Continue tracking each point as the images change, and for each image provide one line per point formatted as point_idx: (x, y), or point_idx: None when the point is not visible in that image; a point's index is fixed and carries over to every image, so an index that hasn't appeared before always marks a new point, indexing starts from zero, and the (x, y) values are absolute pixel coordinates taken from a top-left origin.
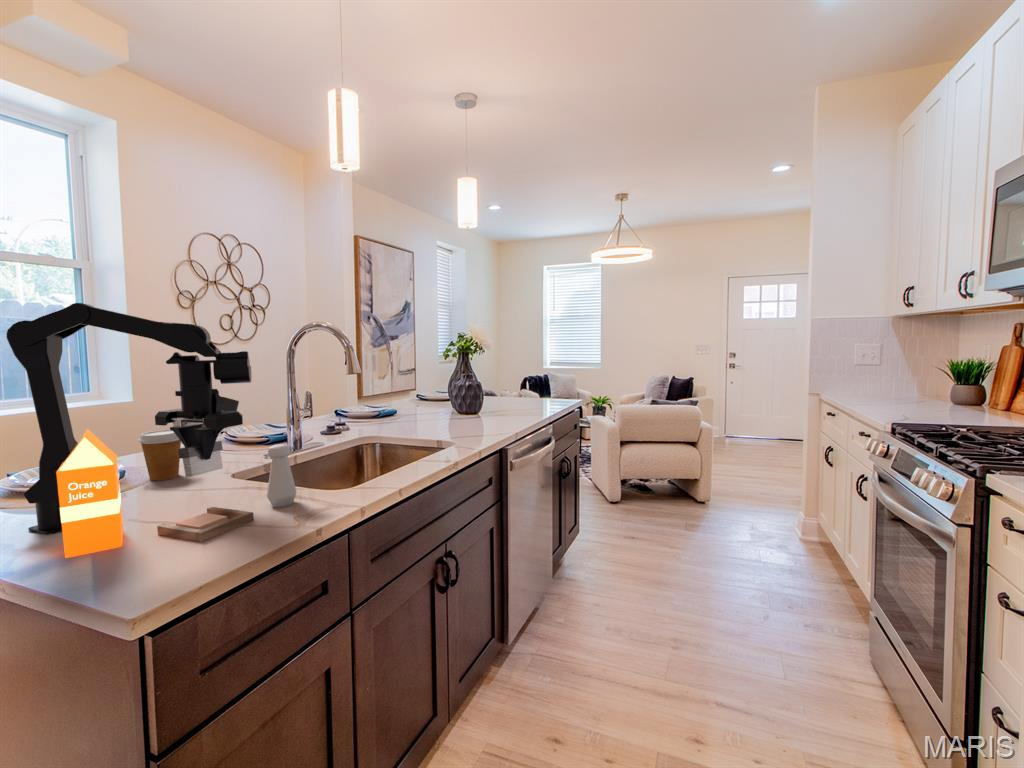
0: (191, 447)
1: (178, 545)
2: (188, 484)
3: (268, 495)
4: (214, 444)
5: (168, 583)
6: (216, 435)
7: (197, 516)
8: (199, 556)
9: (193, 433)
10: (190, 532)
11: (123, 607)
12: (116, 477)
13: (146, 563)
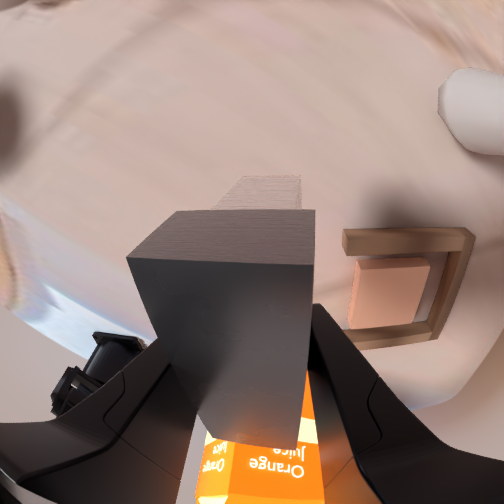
0: (297, 442)
1: (405, 345)
2: (19, 106)
3: (471, 150)
4: (374, 371)
5: (453, 379)
6: (423, 441)
7: (362, 291)
8: (453, 347)
9: (142, 467)
10: (416, 341)
11: (439, 400)
12: (305, 474)
13: (403, 378)
